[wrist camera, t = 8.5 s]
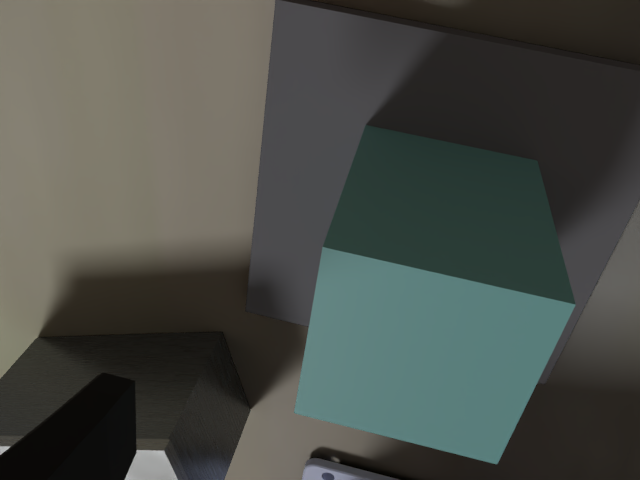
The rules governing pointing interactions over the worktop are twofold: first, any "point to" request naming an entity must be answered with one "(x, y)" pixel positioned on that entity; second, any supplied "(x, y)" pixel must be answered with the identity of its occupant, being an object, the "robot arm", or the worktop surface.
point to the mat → (434, 135)
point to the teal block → (435, 296)
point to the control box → (139, 396)
